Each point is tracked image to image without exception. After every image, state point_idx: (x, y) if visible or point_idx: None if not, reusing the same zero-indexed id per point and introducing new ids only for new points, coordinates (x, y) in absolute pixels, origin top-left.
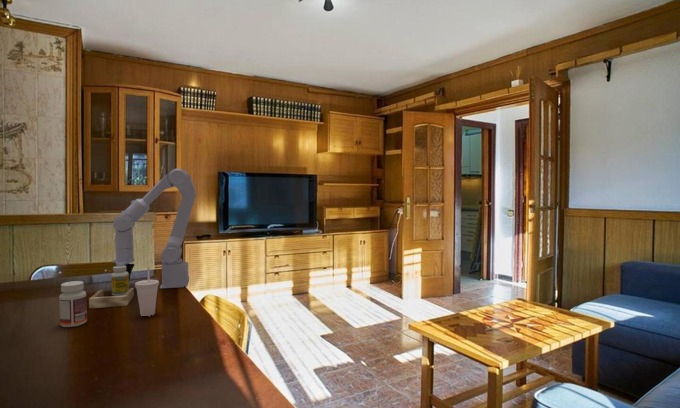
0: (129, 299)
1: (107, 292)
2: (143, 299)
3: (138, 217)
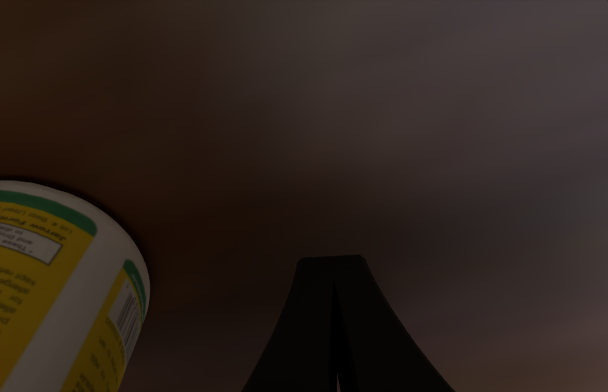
0: None
1: (116, 64)
2: None
3: None
